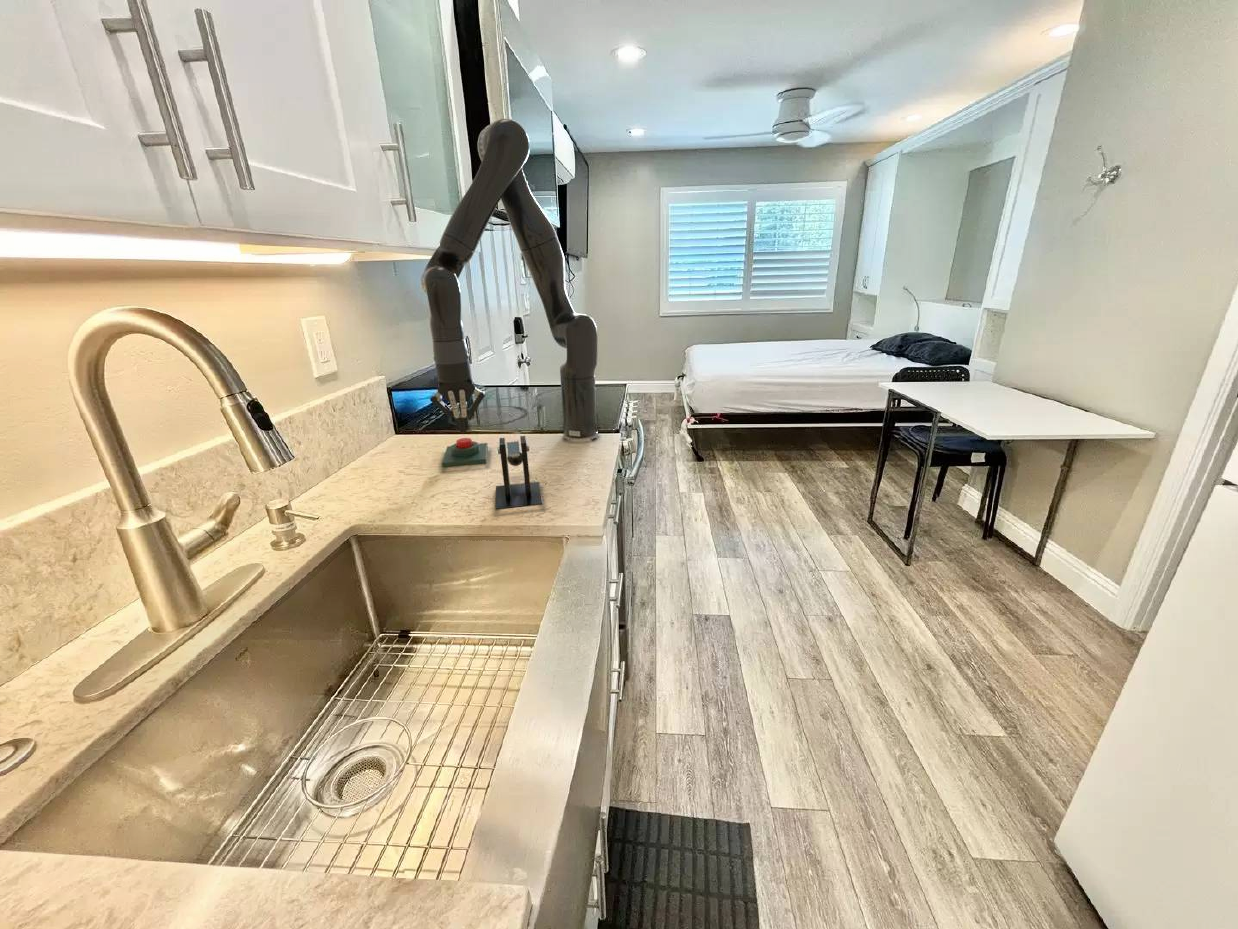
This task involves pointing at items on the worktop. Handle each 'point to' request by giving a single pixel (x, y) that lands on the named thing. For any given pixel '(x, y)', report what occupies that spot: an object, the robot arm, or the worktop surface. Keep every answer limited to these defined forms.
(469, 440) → the button
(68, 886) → the worktop surface
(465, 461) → the button box
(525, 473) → the bracket
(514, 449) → the lever
